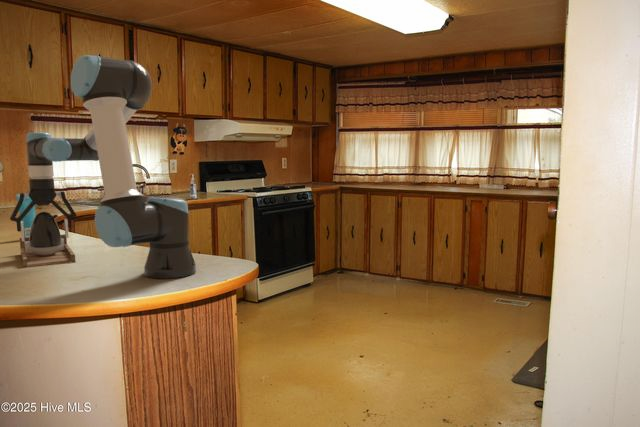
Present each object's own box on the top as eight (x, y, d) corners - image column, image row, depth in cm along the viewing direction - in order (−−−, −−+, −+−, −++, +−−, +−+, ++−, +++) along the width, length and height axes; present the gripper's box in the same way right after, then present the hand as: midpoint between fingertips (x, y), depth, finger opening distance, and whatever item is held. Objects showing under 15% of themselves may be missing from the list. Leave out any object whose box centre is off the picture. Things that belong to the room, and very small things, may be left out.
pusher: (64, 249, 191) (63, 238, 190) (25, 253, 184) (24, 242, 184) (62, 246, 198) (61, 235, 197) (24, 249, 191) (23, 238, 191)
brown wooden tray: (75, 262, 176) (74, 244, 175) (24, 267, 168) (22, 248, 167) (66, 250, 196) (66, 234, 195) (20, 254, 188) (19, 237, 187)
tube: (33, 237, 222) (30, 192, 220) (41, 238, 220) (38, 193, 218) (16, 240, 216) (13, 194, 213) (24, 241, 214) (20, 194, 211)
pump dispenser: (49, 258, 178) (46, 214, 175) (22, 256, 180) (19, 212, 177) (69, 251, 187) (66, 209, 185) (43, 249, 189) (41, 208, 187)
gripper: (79, 176, 190) (82, 234, 192) (-2, 178, 177) (3, 240, 179) (82, 177, 183) (85, 237, 186) (-1, 179, 170) (3, 244, 173)
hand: (45, 239), depth 183 cm, fingers open, 13 cm apart
